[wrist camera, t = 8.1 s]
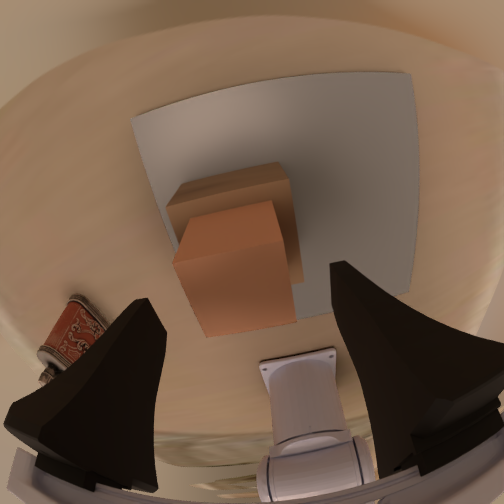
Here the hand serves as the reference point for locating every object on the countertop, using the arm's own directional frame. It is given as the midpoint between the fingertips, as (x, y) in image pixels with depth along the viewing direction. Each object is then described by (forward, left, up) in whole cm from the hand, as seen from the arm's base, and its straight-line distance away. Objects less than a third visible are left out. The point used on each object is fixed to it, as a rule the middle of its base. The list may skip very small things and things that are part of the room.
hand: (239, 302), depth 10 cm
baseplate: (-1, -4, -9) cm, 10 cm away
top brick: (0, 0, -4) cm, 4 cm away
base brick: (0, 0, -8) cm, 8 cm away
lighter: (-8, +17, -9) cm, 21 cm away
